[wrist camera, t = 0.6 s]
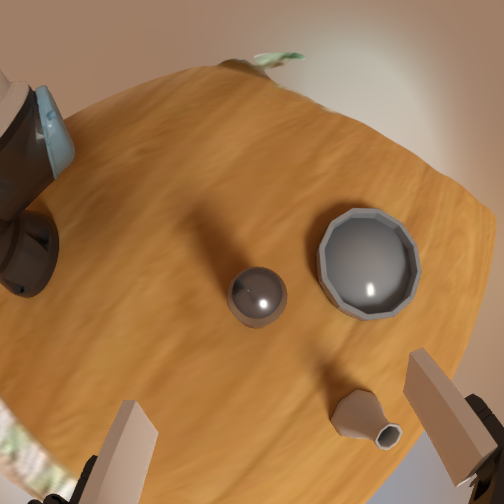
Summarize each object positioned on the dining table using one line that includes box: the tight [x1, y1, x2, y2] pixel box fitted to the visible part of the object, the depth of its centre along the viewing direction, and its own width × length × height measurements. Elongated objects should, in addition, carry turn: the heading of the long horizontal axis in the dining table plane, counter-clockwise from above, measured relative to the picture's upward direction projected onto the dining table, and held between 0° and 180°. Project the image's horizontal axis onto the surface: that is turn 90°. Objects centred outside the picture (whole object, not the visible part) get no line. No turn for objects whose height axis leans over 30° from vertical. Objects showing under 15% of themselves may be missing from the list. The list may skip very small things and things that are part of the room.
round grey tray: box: [316, 208, 421, 321], centre depth 34 cm, size 15×15×2 cm
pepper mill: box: [227, 267, 287, 328], centre depth 28 cm, size 5×5×13 cm
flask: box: [330, 389, 403, 450], centre depth 25 cm, size 7×7×10 cm
